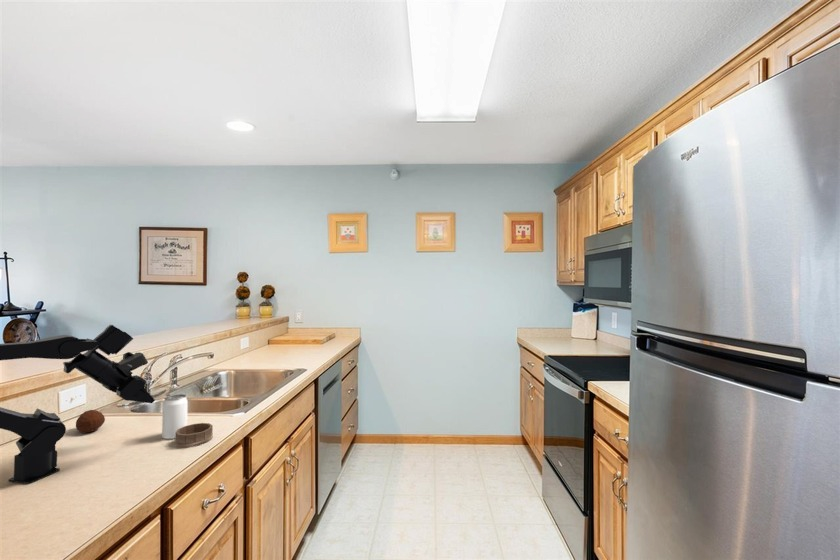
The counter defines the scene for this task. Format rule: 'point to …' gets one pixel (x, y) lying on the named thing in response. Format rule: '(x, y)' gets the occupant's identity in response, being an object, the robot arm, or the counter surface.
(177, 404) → the can
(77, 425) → the potato
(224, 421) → the counter surface
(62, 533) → the counter surface
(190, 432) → the holder
